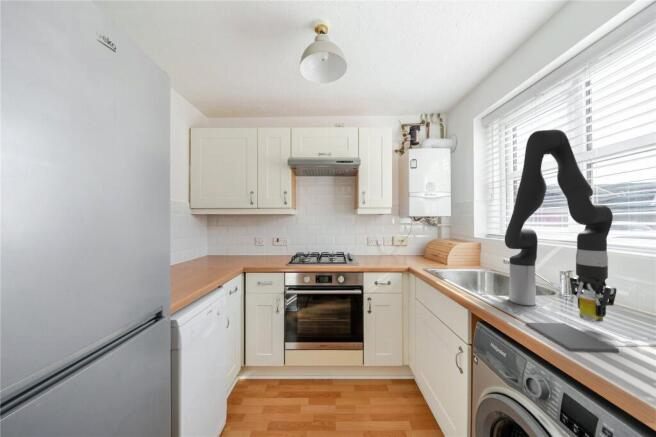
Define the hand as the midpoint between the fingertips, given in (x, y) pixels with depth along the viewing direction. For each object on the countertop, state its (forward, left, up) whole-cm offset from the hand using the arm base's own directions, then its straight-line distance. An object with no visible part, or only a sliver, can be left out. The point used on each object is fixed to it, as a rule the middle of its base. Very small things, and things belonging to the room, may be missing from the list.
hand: (591, 312), depth 86 cm
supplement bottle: (0, 0, -3) cm, 3 cm away
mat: (+5, -12, -6) cm, 15 cm away
